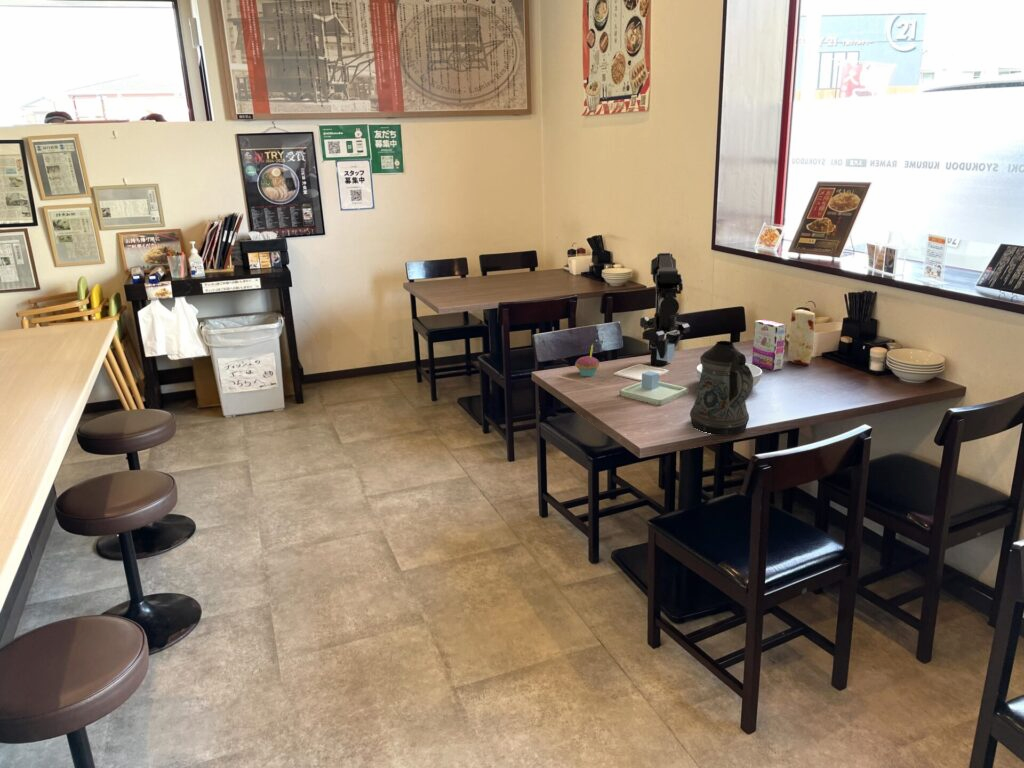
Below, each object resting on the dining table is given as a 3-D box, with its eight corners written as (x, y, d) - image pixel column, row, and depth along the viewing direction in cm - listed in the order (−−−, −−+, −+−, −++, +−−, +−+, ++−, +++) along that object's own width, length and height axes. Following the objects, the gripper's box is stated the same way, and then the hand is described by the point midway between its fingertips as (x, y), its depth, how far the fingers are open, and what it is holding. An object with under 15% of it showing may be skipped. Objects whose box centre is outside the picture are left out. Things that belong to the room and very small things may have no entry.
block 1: (648, 385, 253) (649, 370, 251) (658, 387, 250) (658, 373, 249) (641, 387, 250) (641, 373, 249) (651, 390, 248) (651, 375, 246)
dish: (638, 366, 276) (638, 363, 276) (668, 373, 267) (668, 370, 267) (613, 376, 266) (613, 373, 266) (643, 383, 257) (643, 380, 257)
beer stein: (705, 411, 229) (709, 332, 221) (767, 424, 217) (773, 341, 209) (679, 427, 217) (682, 344, 209) (743, 442, 205) (749, 354, 197)
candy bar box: (783, 369, 268) (787, 324, 263) (773, 371, 266) (776, 326, 261) (761, 362, 277) (764, 318, 272) (751, 363, 275) (754, 320, 270)
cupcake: (599, 372, 271) (599, 340, 268) (599, 379, 263) (599, 346, 260) (575, 372, 272) (575, 340, 269) (575, 379, 264) (574, 346, 261)
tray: (647, 383, 257) (648, 378, 256) (688, 393, 246) (688, 388, 245) (619, 395, 246) (619, 390, 246) (659, 405, 235) (660, 400, 235)
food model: (782, 362, 276) (787, 308, 270) (794, 358, 280) (799, 306, 274) (805, 367, 268) (810, 313, 262) (817, 364, 272) (822, 310, 266)
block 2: (663, 356, 246) (664, 342, 245) (674, 358, 244) (674, 343, 242) (656, 359, 244) (657, 344, 242) (667, 361, 241) (667, 346, 240)
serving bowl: (764, 399, 238) (765, 378, 236) (696, 397, 242) (697, 377, 240) (757, 380, 257) (758, 360, 255) (694, 378, 261) (695, 359, 259)
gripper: (662, 302, 251) (661, 348, 255) (628, 311, 239) (628, 358, 243) (691, 306, 243) (689, 353, 248) (658, 315, 231) (656, 364, 235)
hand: (665, 357), depth 244 cm, fingers closed on block 2, 4 cm apart
